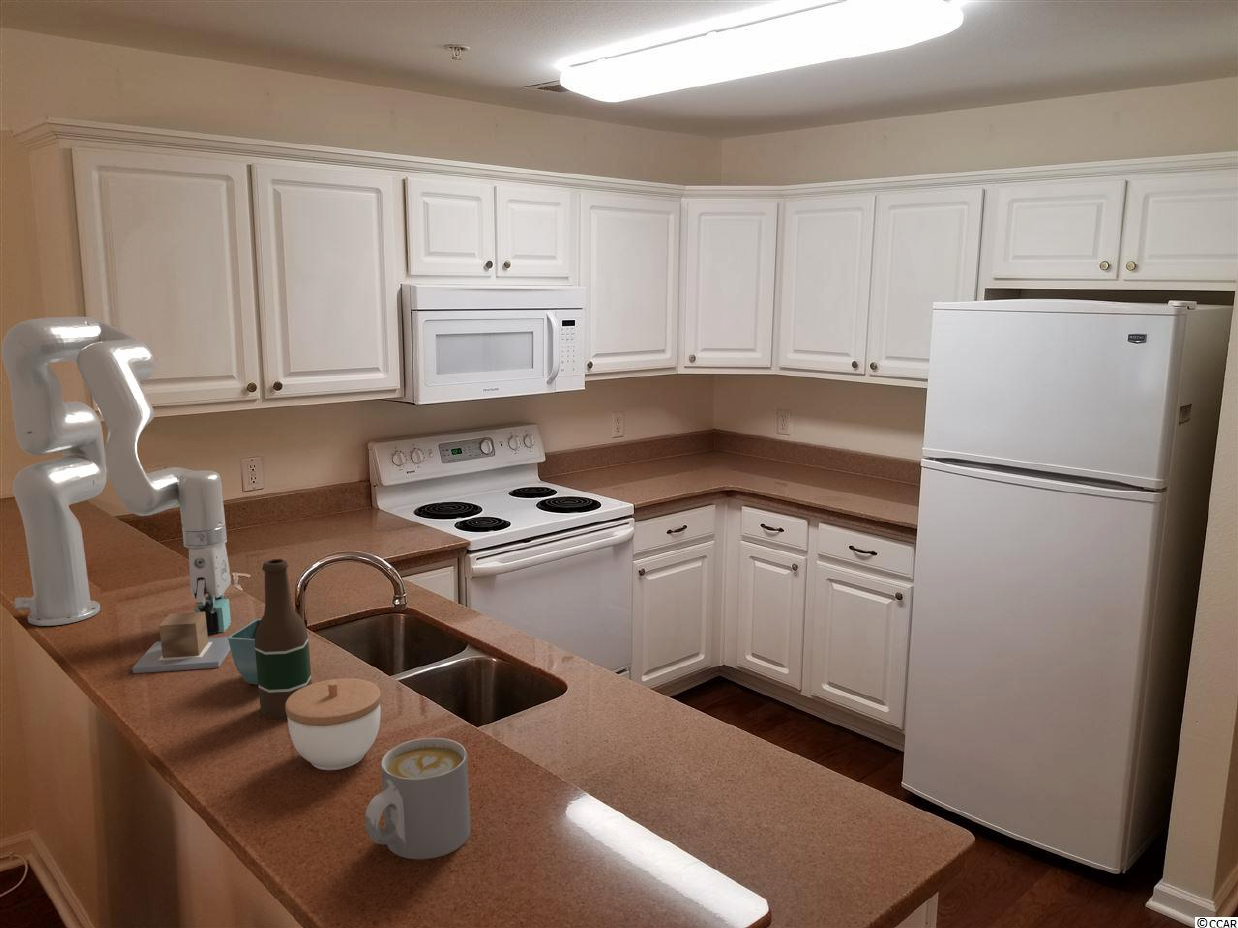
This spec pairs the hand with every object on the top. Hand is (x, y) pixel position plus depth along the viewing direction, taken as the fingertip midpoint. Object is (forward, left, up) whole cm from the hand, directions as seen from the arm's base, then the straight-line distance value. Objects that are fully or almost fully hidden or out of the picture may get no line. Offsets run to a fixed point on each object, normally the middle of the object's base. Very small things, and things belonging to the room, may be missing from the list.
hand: (214, 625), depth 180 cm
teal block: (0, 0, -1) cm, 1 cm away
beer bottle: (+21, -39, -1) cm, 44 cm away
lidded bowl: (+31, -56, -1) cm, 64 cm away
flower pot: (+16, -27, -1) cm, 31 cm away
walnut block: (-1, -14, +1) cm, 14 cm away
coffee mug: (+43, -78, -1) cm, 89 cm away
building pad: (-1, -14, -1) cm, 14 cm away
